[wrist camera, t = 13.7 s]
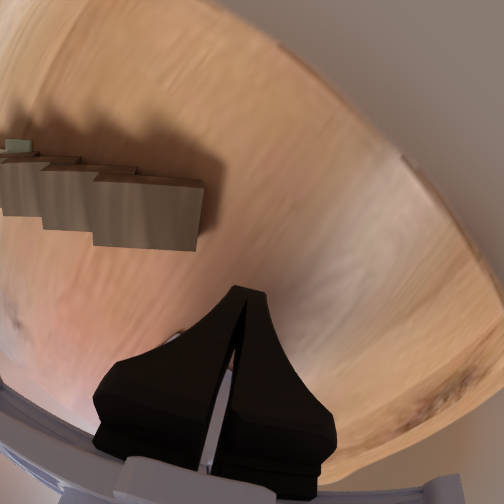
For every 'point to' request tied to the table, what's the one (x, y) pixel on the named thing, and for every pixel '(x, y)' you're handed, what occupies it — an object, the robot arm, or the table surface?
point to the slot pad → (18, 145)
